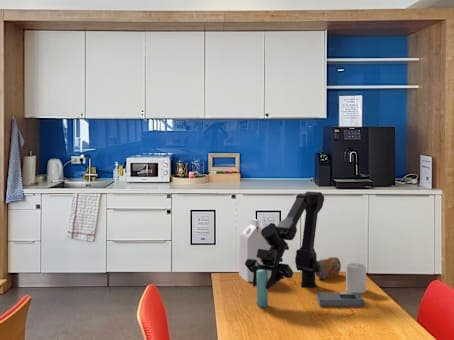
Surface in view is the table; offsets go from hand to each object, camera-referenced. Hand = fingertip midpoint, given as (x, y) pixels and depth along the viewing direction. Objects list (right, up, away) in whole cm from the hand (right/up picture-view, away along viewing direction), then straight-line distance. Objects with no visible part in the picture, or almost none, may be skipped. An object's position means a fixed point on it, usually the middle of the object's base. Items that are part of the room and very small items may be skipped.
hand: (260, 287), depth 216 cm
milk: (0, -5, +44) cm, 44 cm away
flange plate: (+30, -6, +4) cm, 31 cm away
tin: (+32, -4, +42) cm, 53 cm away
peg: (+1, -7, +2) cm, 7 cm away
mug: (+40, -5, +21) cm, 45 cm away
